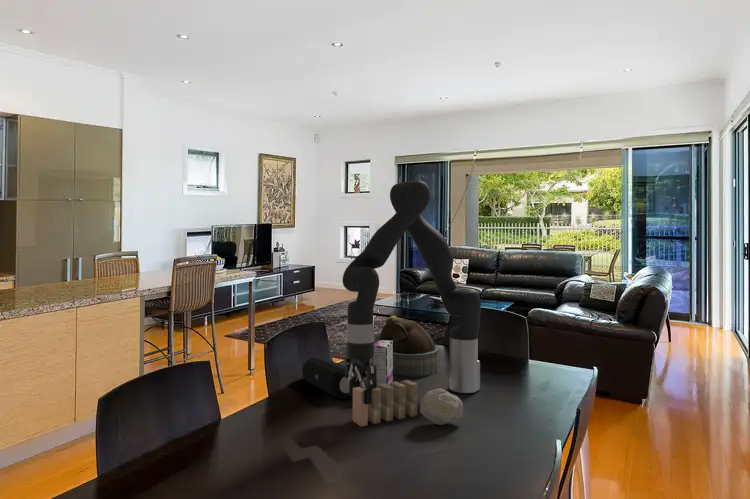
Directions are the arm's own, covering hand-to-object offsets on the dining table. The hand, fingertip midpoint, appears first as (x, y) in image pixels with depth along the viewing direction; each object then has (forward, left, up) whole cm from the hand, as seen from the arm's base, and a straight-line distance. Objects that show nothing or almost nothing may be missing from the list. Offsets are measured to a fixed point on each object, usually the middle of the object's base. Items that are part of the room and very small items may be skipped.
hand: (360, 399), depth 132 cm
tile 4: (-4, 0, -6) cm, 7 cm away
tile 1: (-16, 0, -6) cm, 17 cm away
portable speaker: (-5, -32, -7) cm, 33 cm away
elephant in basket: (-41, -40, -7) cm, 57 cm away
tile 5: (0, 0, -6) cm, 6 cm away
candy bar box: (-20, -22, -6) cm, 30 cm away
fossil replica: (-18, +13, -6) cm, 23 cm away
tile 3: (-8, 0, -6) cm, 10 cm away
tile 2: (-12, 0, -6) cm, 14 cm away
